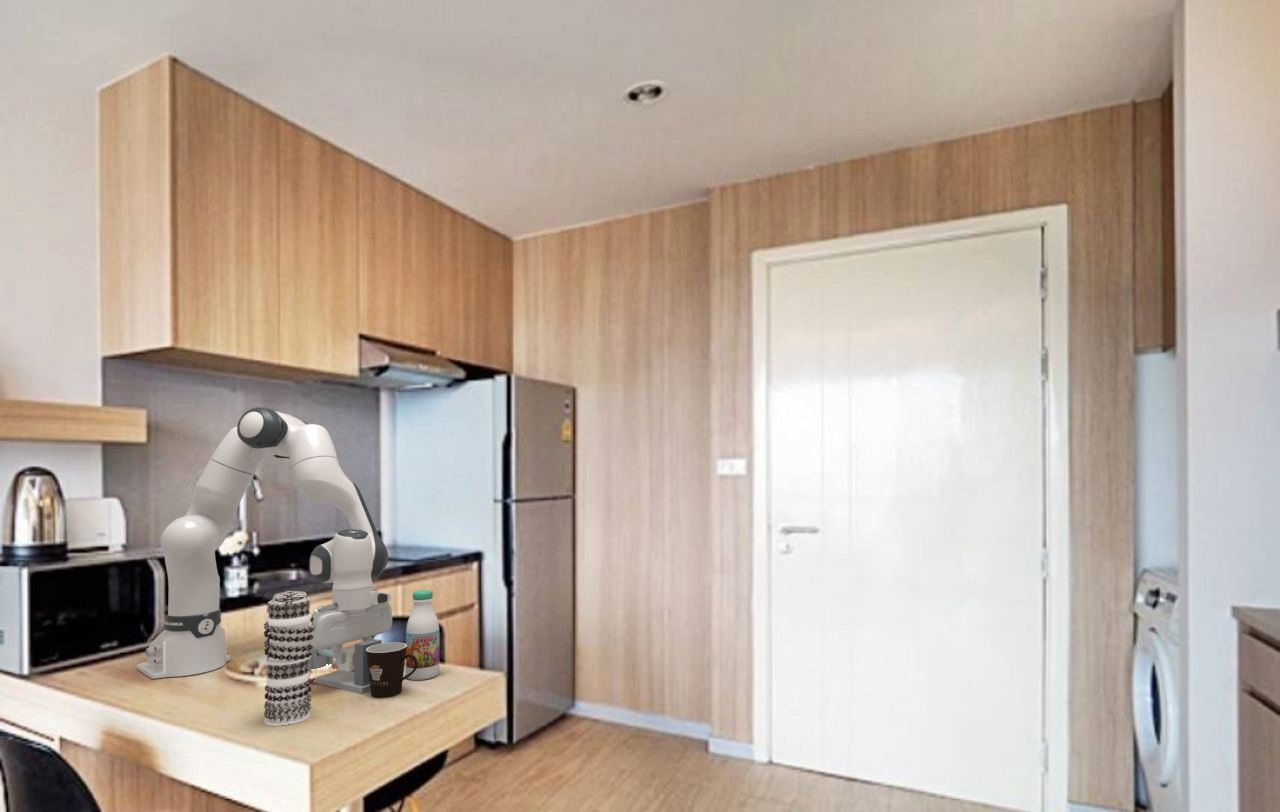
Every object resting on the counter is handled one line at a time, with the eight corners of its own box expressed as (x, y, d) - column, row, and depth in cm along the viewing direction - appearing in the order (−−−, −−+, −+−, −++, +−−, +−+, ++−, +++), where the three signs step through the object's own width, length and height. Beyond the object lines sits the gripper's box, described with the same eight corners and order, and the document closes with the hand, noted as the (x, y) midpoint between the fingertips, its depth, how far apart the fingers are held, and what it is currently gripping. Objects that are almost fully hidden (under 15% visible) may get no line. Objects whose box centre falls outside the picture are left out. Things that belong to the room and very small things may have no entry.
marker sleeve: (337, 669, 163) (338, 648, 163) (354, 664, 167) (355, 644, 167) (348, 671, 161) (349, 651, 161) (365, 666, 165) (366, 646, 165)
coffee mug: (358, 694, 156) (359, 648, 157) (394, 684, 162) (395, 640, 163) (383, 705, 148) (384, 657, 149) (420, 695, 154) (421, 648, 155)
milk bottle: (400, 676, 169) (400, 591, 170) (430, 669, 174) (430, 587, 175) (414, 683, 163) (414, 595, 164) (445, 675, 168) (445, 591, 170)
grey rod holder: (301, 679, 167) (302, 636, 168) (327, 671, 173) (328, 629, 174) (362, 693, 156) (362, 647, 157) (387, 684, 162) (388, 639, 163)
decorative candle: (265, 714, 145) (267, 591, 146) (314, 707, 148) (316, 587, 150) (258, 729, 136) (260, 598, 138) (310, 722, 139) (312, 594, 141)
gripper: (321, 609, 154) (320, 674, 153) (396, 593, 172) (396, 651, 171) (303, 607, 157) (302, 670, 156) (379, 591, 175) (378, 648, 174)
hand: (352, 660), depth 164 cm, fingers closed on marker sleeve, 5 cm apart
